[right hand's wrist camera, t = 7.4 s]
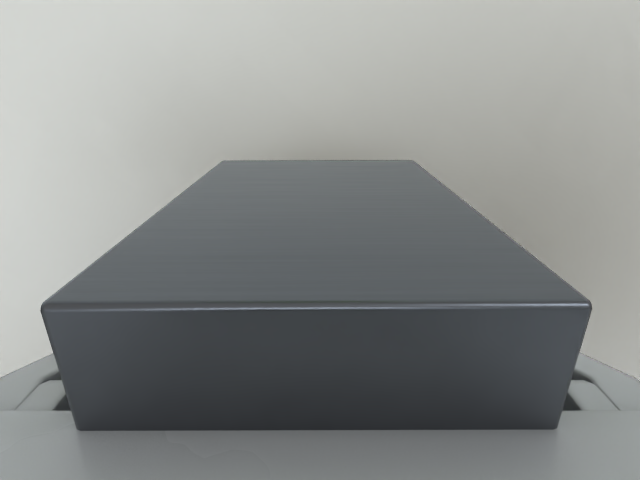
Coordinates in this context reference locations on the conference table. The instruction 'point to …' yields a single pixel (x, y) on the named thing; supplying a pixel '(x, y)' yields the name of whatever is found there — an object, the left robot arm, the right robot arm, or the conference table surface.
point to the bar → (316, 310)
